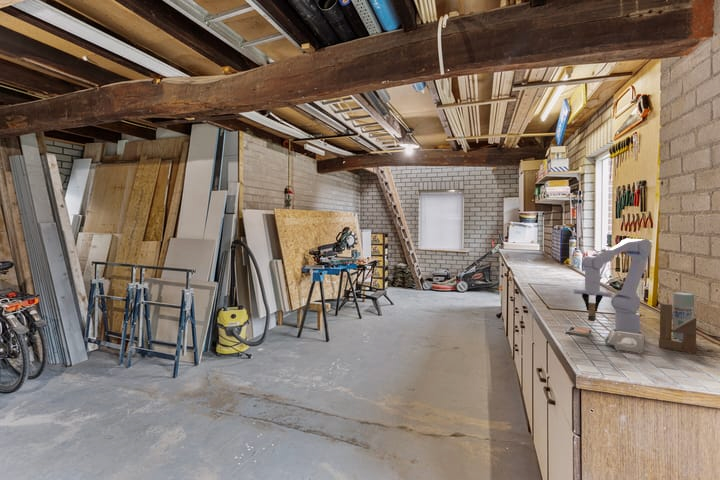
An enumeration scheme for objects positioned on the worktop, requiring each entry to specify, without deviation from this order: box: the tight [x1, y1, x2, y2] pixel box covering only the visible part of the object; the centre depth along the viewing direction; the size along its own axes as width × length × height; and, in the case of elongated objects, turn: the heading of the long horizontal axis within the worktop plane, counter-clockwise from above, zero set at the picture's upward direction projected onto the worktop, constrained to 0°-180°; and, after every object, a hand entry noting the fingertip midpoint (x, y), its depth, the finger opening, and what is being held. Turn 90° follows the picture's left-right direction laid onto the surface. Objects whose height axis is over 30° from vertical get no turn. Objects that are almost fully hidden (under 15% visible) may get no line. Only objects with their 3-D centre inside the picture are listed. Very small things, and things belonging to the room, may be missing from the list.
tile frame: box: [565, 325, 592, 338], centre depth 158 cm, size 9×11×1 cm
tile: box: [572, 327, 591, 335], centre depth 157 cm, size 6×6×2 cm
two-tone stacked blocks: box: [587, 301, 597, 322], centre depth 157 cm, size 2×7×8 cm, turn 141°
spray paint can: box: [672, 291, 695, 341], centre depth 147 cm, size 6×6×20 cm
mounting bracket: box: [604, 329, 645, 354], centre depth 136 cm, size 12×6×11 cm, turn 55°
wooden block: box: [658, 302, 697, 354], centre depth 135 cm, size 4×11×18 cm, turn 47°
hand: (592, 310), depth 157 cm, fingers closed on two-tone stacked blocks, 2 cm apart
